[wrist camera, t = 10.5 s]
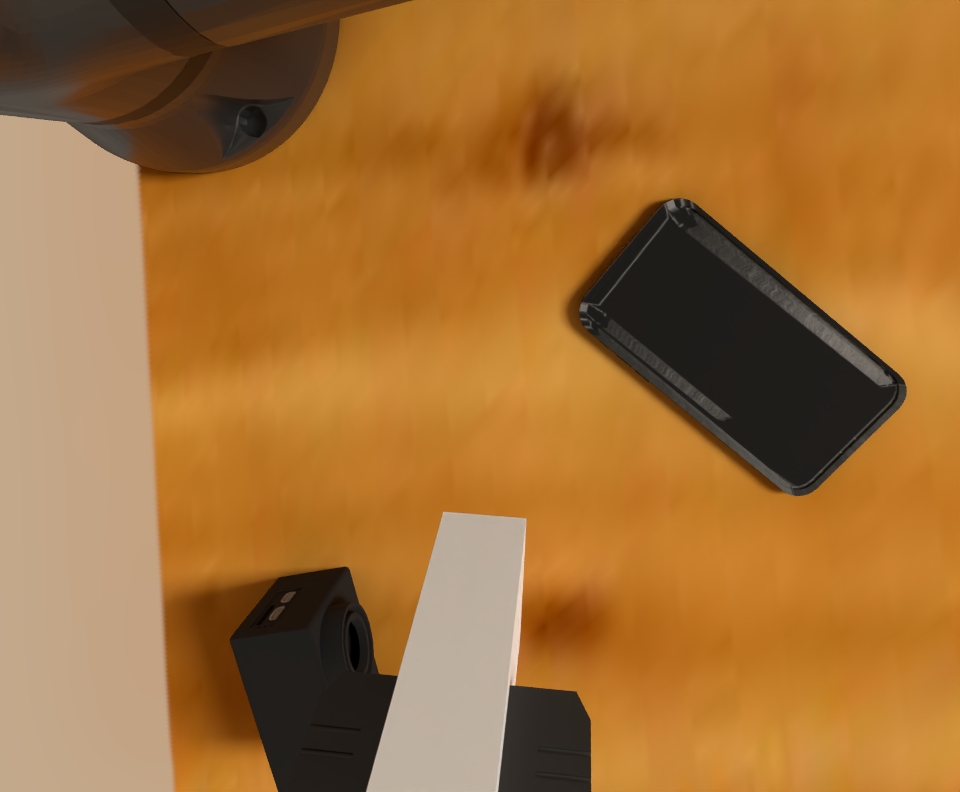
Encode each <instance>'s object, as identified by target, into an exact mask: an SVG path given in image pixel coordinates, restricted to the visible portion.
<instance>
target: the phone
mask: <svg viewBox="0 0 960 792" xmlns="http://www.w3.org/2000/svg"><path fill="white" fill-rule="evenodd" d="M579 315H580V320H581V322H582V325H583V326H584V327H585V328H586V329H587V330H588V331H589V332H590V333H591V334H592V335H594V336H595V337H596V338H597V339H599V340H600V342H601V343H603V344H604V345H605V346H606V347H608V348H610V349H611V350H612V351H613V352H614V353H616V354H617V356H618V357H619V358H620V359H622V360H623V361H624V362H625V363H626V364H628V365H629V366H630V367H633V368H634V369H635V370H636V372H637V373H638V374H639V375H641V376H642V377H643V378H644V379H645V380H647V381H648V382H649V381H650V382H651V383H652V384H653V385H655V386H656V387H657V388H658V389H659V390H661V391H662V392H663V393H664V394H666V395H667V396H668V397H669V398H670V399H672V400H673V401H674V402H675V403H677V404H678V405H679V406H680V407H681V408H683V409H684V410H685V411H686V412H687V413H689V414H690V415H691V416H692V417H694V418H695V419H696V420H697V421H698V422H700V423H701V424H702V425H703V426H705V427H706V428H707V429H708V430H709V431H711V432H712V433H713V434H714V435H715V436H717V437H718V438H719V439H720V440H722V441H723V442H724V443H725V444H726V445H728V446H729V447H730V448H731V449H733V450H734V451H735V452H736V453H737V454H739V455H740V456H741V457H742V458H743V459H745V460H746V461H747V462H748V463H750V464H751V465H752V466H753V467H754V468H756V469H757V470H758V471H759V472H761V473H762V474H763V475H764V476H765V477H767V478H768V479H769V480H770V481H771V482H773V483H774V484H775V485H776V486H778V487H779V488H780V489H781V490H782V491H784V492H786V493H788V494H790V495H794V496H803V495H806V494H809V493H811V492H813V491H814V490H816V489H817V488H818V487H819V486H820V485H821V484H822V483H823V482H824V481H825V480H826V479H827V478H828V477H829V476H830V475H831V474H832V473H833V472H834V471H835V470H836V469H837V468H838V467H839V466H840V465H841V464H842V463H844V462H845V461H846V460H847V459H848V458H849V457H850V456H851V455H852V454H853V453H854V452H855V451H856V450H857V449H858V448H859V447H860V446H861V445H862V444H863V443H864V442H865V441H866V440H867V439H868V438H869V437H870V436H871V435H872V434H873V433H874V432H875V431H876V430H877V429H878V428H879V427H880V426H881V425H882V424H883V423H884V422H885V421H886V420H887V419H889V418H890V417H891V416H892V415H893V414H894V413H895V412H896V411H897V410H898V409H899V408H900V406H901V405H902V404H903V402H904V400H905V397H906V385H905V382H904V380H903V379H902V377H901V376H900V375H899V374H898V373H897V372H895V371H894V370H893V369H892V368H891V367H889V366H888V365H887V364H886V363H885V362H883V361H882V360H881V359H880V358H879V357H878V356H876V355H875V354H874V353H873V352H872V351H870V350H869V349H868V348H867V347H866V346H864V345H863V344H862V343H861V342H860V341H858V340H857V339H856V338H855V337H854V336H852V335H851V334H850V333H849V332H848V331H847V330H845V329H844V328H843V327H842V326H841V325H839V324H838V323H837V322H836V321H835V320H833V319H832V318H831V317H830V316H829V315H827V314H826V313H825V312H824V311H823V310H821V309H820V308H819V307H818V306H817V305H816V304H814V303H813V302H812V301H811V300H810V299H808V298H807V297H806V296H805V295H804V294H802V293H801V292H800V291H799V290H798V289H796V288H795V287H794V286H793V285H792V284H791V283H789V282H788V281H787V280H786V279H785V278H783V277H782V276H781V275H780V274H779V273H777V272H776V271H775V270H774V269H773V268H771V267H770V266H769V265H768V264H767V263H765V262H764V261H763V260H762V259H761V258H760V257H758V256H757V255H756V254H755V253H754V252H752V251H751V250H750V249H749V248H748V247H746V246H745V245H744V244H743V243H742V242H740V241H739V240H738V239H737V238H736V237H734V236H733V235H732V234H731V233H730V232H729V231H727V230H726V229H725V228H724V227H723V226H721V225H720V224H719V223H718V222H717V221H715V220H714V219H713V218H712V217H711V216H709V215H708V214H707V213H706V212H705V211H704V210H702V209H701V208H700V207H699V206H698V205H696V204H695V203H693V202H691V201H690V200H686V199H681V198H677V199H671V200H669V201H667V202H665V203H663V204H662V205H661V206H660V207H659V208H658V209H657V210H656V212H655V213H654V214H653V215H652V216H651V217H650V219H649V220H648V221H647V222H646V223H645V225H644V226H643V227H642V228H641V229H640V231H639V232H638V233H637V234H636V235H635V236H634V238H633V239H632V240H631V241H630V242H629V244H628V245H627V246H626V247H625V248H624V250H623V251H622V252H621V253H620V254H619V255H618V257H617V258H616V259H615V260H614V261H613V263H612V264H611V265H610V266H609V267H608V269H607V270H606V271H605V272H604V273H603V274H602V276H601V277H600V278H599V279H598V280H597V282H596V283H595V284H594V285H593V286H592V288H591V289H590V290H589V291H588V292H587V293H586V295H585V296H584V298H583V299H582V301H581V304H580V309H579Z"/></svg>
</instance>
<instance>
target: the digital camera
mask: <svg viewBox="0 0 960 792" xmlns="http://www.w3.org/2000/svg"><path fill="white" fill-rule="evenodd" d="M230 642H231V645H232V649H233V652H234V655H235V658H236V661H237V665H238V668H239V671H240V674H241V678H242V681H243V684H244V687H245V690H246V693H247V696H248V699H249V703H250V706H251V709H252V712H253V715H254V718H255V721H256V724H257V728H258V731H259V734H260V737H261V740H262V743H263V746H264V749H265V752H266V756H267V759H268V762H269V765H270V768H271V771H272V774H273V777H274V780H275V783H276V786H277V789H278V792H285V789H286V787H287V784H288V781H289V779H290V776H291V774H292V771H293V768H294V766H295V763H296V760H297V758H298V755H299V754H300V753H301V747H302V745H303V742H304V739H305V737H306V734H307V731H308V730H309V729H310V723H311V721H312V718H313V716H314V713H315V710H316V708H317V705H318V702H319V700H320V697H321V695H322V694H323V693H324V691H325V690H326V689H327V688H328V687H329V686H330V685H331V684H332V683H333V682H334V681H335V680H336V679H337V678H338V677H339V676H340V675H341V674H342V673H343V672H344V671H351V672H361V673H371V674H379V673H378V669H377V666H376V662H375V658H374V650H373V639H372V633H371V628H370V624H369V621H368V618H367V615H366V613H365V611H364V609H363V608H362V606H361V605H360V604H359V602H358V598H357V595H356V591H355V588H354V584H353V581H352V577H351V574H350V570H349V568H348V567H342V568H336V569H330V570H324V571H317V572H311V573H305V574H298V575H292V576H286V577H280V578H278V579H277V581H276V582H275V583H274V584H273V586H272V587H271V588H270V589H269V591H268V592H267V593H266V594H265V595H264V597H263V598H262V599H261V600H260V602H259V603H258V604H257V605H256V607H255V608H254V609H253V610H252V612H251V613H250V614H249V615H248V616H247V618H246V619H245V620H244V621H243V623H242V624H241V625H240V626H239V628H238V629H237V630H236V631H235V633H234V634H233V635H232V637H231V638H230Z"/></svg>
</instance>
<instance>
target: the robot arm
mask: <svg viewBox="0 0 960 792" xmlns="http://www.w3.org/2000/svg"><path fill="white" fill-rule="evenodd" d="M408 1H412V0H0V115H8V116H17V117H26V118H35V119H44V120H53V121H63V122H67V123H68V124H70V125H71V126H72V127H74V128H75V129H76V130H78V131H79V132H80V133H82V134H83V135H84V136H86V137H87V138H88V139H90V140H91V141H93V142H94V143H95V144H97V145H98V146H100V147H101V148H103V149H105V150H106V151H108V152H110V153H112V154H114V155H116V156H118V157H120V158H123V159H124V160H127V161H130V162H132V163H135V164H138V165H141V166H144V167H148V168H151V169H156V170H162V171H169V172H187V173H211V172H219V171H225V170H230V169H234V168H237V167H240V166H244V165H246V164H249V163H251V162H253V161H255V160H257V159H259V158H261V157H263V156H265V155H267V154H268V153H270V152H272V151H273V150H274V149H276V148H277V147H278V146H280V145H281V144H282V143H284V142H285V141H286V140H287V139H288V138H289V137H290V136H291V135H292V134H293V133H294V132H295V131H296V130H297V129H298V128H299V127H300V126H301V125H302V123H303V122H304V121H305V120H306V118H307V117H308V115H309V114H310V113H311V111H312V110H313V108H314V106H315V105H316V103H317V102H318V100H319V98H320V96H321V94H322V92H323V90H324V87H325V85H326V83H327V80H328V78H329V75H330V72H331V69H332V65H333V62H334V58H335V53H336V48H337V42H338V34H339V20H340V19H341V18H345V17H349V16H353V15H357V14H361V13H365V12H369V11H373V10H377V9H380V8H384V7H388V6H392V5H396V4H400V3H404V2H408ZM525 535H526V518H514V517H502V516H490V515H477V514H465V513H452V512H443V515H442V519H441V523H440V526H439V530H438V533H437V537H436V541H435V544H434V548H433V552H432V555H431V559H430V562H429V566H428V570H427V573H426V577H425V581H424V584H423V588H422V591H421V595H420V599H419V602H418V606H417V609H416V613H415V617H414V620H413V624H412V628H411V631H410V635H409V638H408V642H407V646H406V649H405V653H404V657H403V660H402V664H401V667H400V671H399V675H398V676H392V675H382V674H371V673H361V672H351V671H344V672H343V673H342V674H341V675H340V676H339V677H338V678H337V679H336V680H335V681H334V682H333V683H332V684H331V685H330V686H329V687H328V688H327V689H326V690H325V691H324V693H323V694H322V695H321V697H320V700H319V702H318V705H317V708H316V710H315V713H314V716H313V718H312V721H311V723H310V729H309V730H308V731H307V734H306V737H305V739H304V742H303V745H302V747H301V753H300V754H299V755H298V758H297V760H296V763H295V766H294V768H293V771H292V774H291V776H290V779H289V781H288V784H287V787H286V789H285V792H591V720H590V718H589V716H588V714H587V712H586V710H585V708H584V706H583V704H582V702H581V700H580V698H579V696H578V694H577V692H574V691H564V690H553V689H543V688H533V687H523V686H515V682H516V672H517V662H518V653H519V643H520V629H521V610H522V591H523V573H524V554H525Z"/></svg>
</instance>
